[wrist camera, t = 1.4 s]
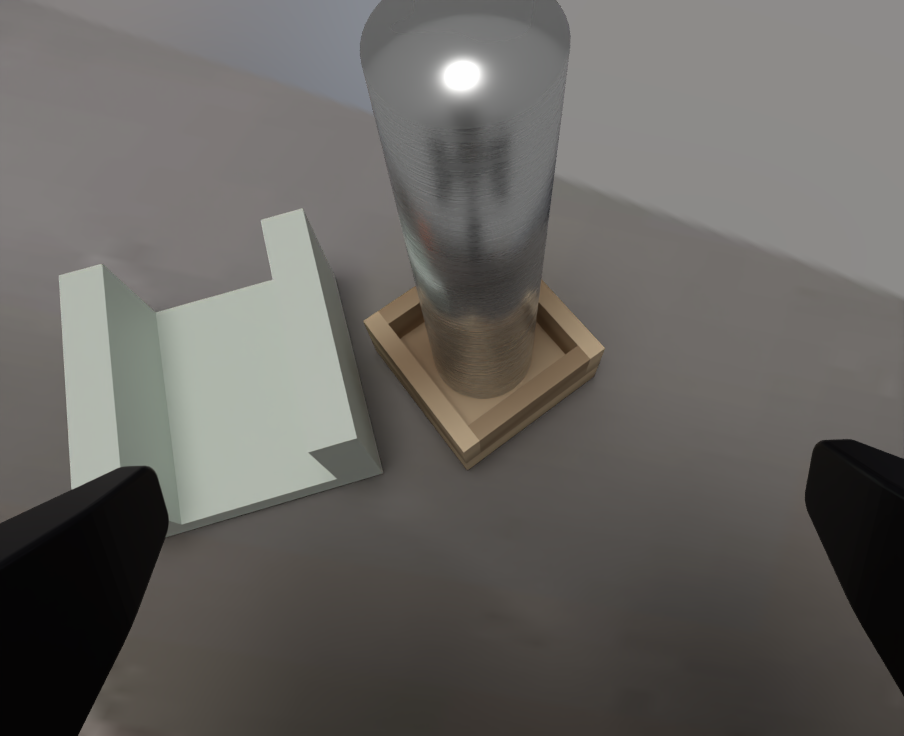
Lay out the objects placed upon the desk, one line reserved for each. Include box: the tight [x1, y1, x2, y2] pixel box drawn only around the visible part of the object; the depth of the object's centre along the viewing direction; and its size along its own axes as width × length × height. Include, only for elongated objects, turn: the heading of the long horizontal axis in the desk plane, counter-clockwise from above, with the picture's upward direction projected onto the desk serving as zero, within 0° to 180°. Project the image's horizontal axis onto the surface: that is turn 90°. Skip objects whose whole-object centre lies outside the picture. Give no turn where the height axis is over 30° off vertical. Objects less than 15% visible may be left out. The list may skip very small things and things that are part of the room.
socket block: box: [363, 279, 605, 471], centre depth 22 cm, size 6×6×2 cm
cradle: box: [59, 208, 383, 538], centre depth 22 cm, size 8×8×4 cm
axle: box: [360, 0, 570, 399], centre depth 17 cm, size 3×3×13 cm
